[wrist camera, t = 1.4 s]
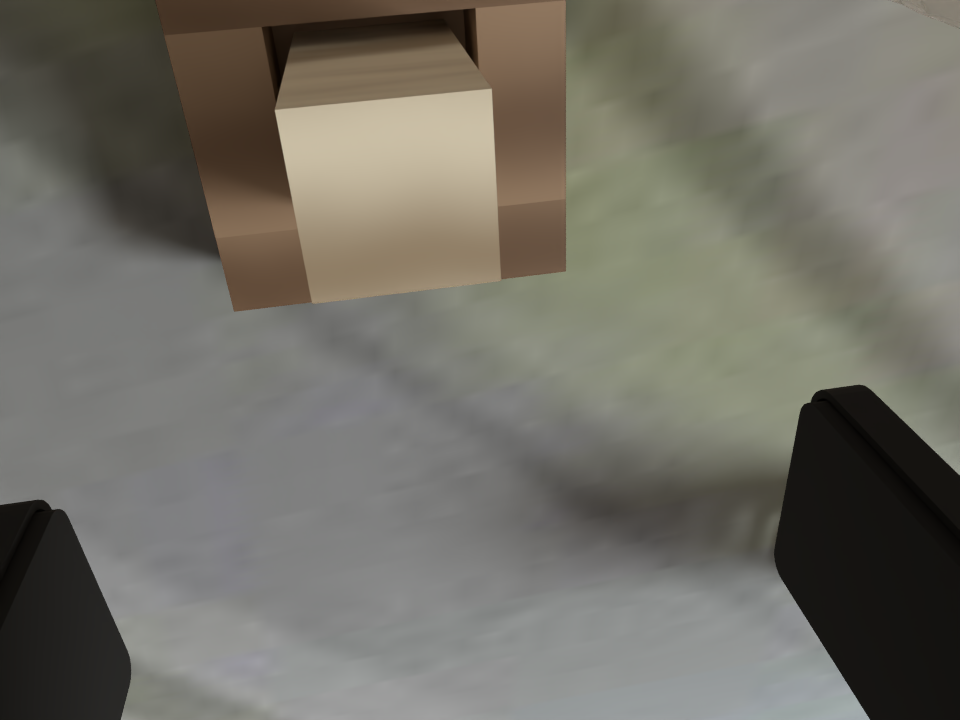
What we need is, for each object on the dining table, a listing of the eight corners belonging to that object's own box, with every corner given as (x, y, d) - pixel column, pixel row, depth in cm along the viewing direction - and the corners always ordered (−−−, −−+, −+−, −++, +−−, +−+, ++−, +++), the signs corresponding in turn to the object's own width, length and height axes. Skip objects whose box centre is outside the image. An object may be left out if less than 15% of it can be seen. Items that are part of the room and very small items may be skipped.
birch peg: (294, 32, 26) (274, 109, 18) (443, 18, 27) (491, 88, 19) (318, 177, 29) (312, 303, 21) (454, 162, 30) (500, 280, 21)
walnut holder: (162, -82, 25) (136, -74, 22) (536, -110, 26) (565, -106, 23) (245, 264, 32) (234, 311, 28) (542, 229, 33) (565, 271, 29)
